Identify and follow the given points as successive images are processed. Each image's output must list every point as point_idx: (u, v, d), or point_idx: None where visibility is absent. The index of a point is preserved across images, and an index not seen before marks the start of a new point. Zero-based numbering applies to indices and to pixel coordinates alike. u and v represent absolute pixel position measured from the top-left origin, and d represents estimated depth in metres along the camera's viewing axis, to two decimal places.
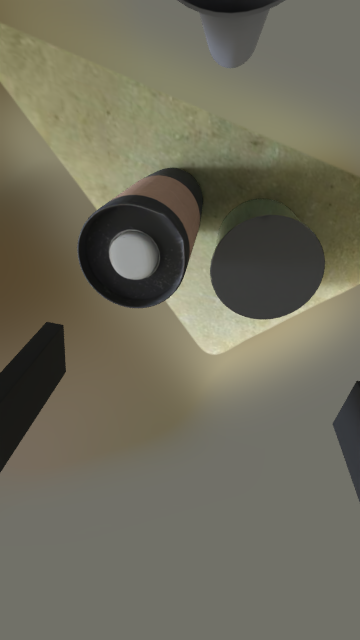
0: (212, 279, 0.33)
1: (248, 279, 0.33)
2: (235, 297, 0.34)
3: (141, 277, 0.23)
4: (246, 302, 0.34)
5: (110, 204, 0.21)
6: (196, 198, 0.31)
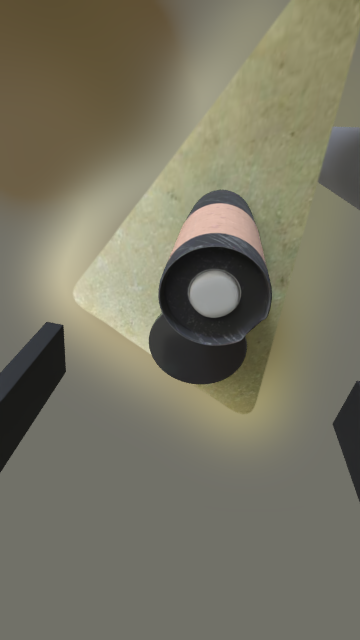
0: None
1: None
2: (164, 331, 0.36)
3: (195, 308, 0.23)
4: (163, 340, 0.37)
5: (266, 273, 0.20)
6: None
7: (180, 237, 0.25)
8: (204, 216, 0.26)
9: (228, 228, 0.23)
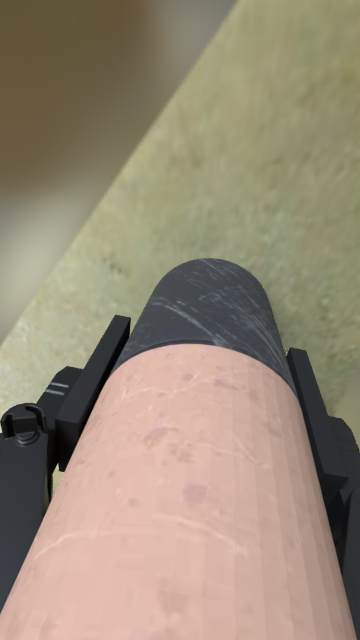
0: None
1: None
2: None
3: None
4: None
5: None
6: None
7: (28, 569, 0.06)
8: (133, 449, 0.07)
9: None
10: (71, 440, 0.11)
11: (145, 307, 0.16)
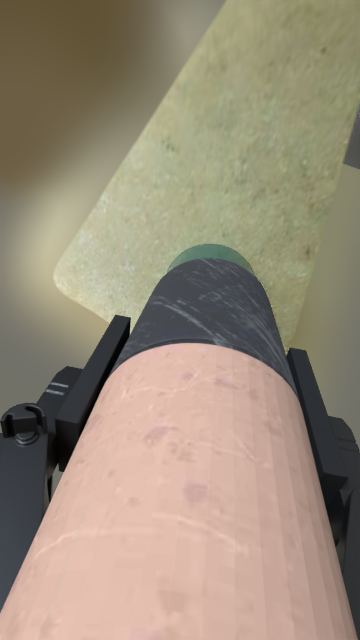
0: None
1: None
2: None
3: None
4: None
5: None
6: None
7: (28, 568, 0.06)
8: (133, 449, 0.07)
9: None
10: (71, 440, 0.11)
11: (145, 306, 0.16)
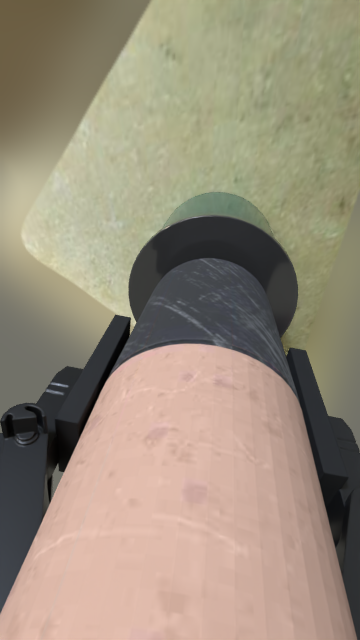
0: (172, 227, 0.19)
1: None
2: (154, 272, 0.21)
3: None
4: (152, 290, 0.21)
5: None
6: None
7: (28, 569, 0.06)
8: (133, 449, 0.07)
9: None
10: (71, 440, 0.11)
11: (145, 307, 0.16)
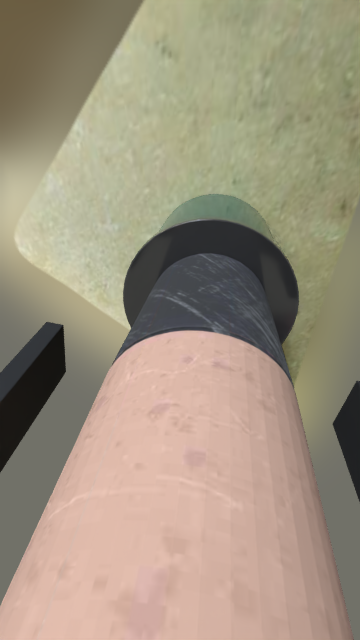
0: (168, 231, 0.18)
1: None
2: (150, 277, 0.20)
3: None
4: None
5: None
6: None
7: (43, 527, 0.07)
8: (138, 423, 0.08)
9: (207, 636, 0.05)
10: None
11: (146, 300, 0.17)
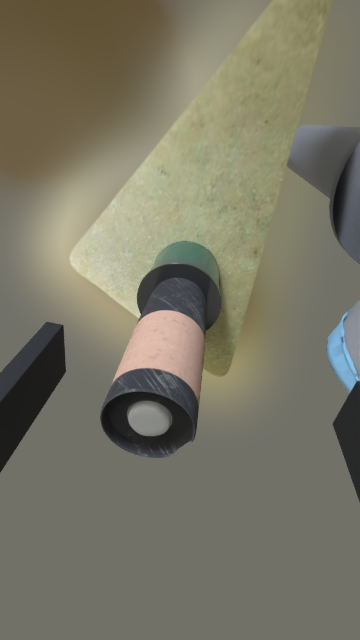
0: (160, 267, 0.40)
1: None
2: (151, 287, 0.41)
3: (133, 428, 0.26)
4: (149, 296, 0.42)
5: (190, 412, 0.24)
6: None
7: (126, 354, 0.29)
8: (150, 333, 0.30)
9: (164, 360, 0.26)
10: None
11: (150, 298, 0.38)
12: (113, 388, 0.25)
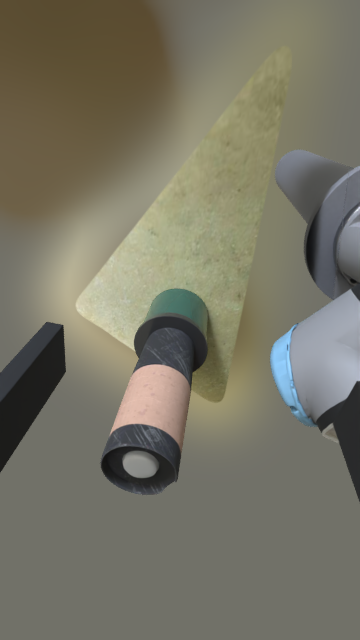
0: (152, 319, 0.46)
1: None
2: (145, 336, 0.48)
3: (128, 472, 0.32)
4: (144, 343, 0.48)
5: (171, 460, 0.30)
6: None
7: (121, 408, 0.35)
8: (141, 388, 0.36)
9: (151, 415, 0.32)
10: None
11: (144, 348, 0.45)
12: (110, 441, 0.31)
